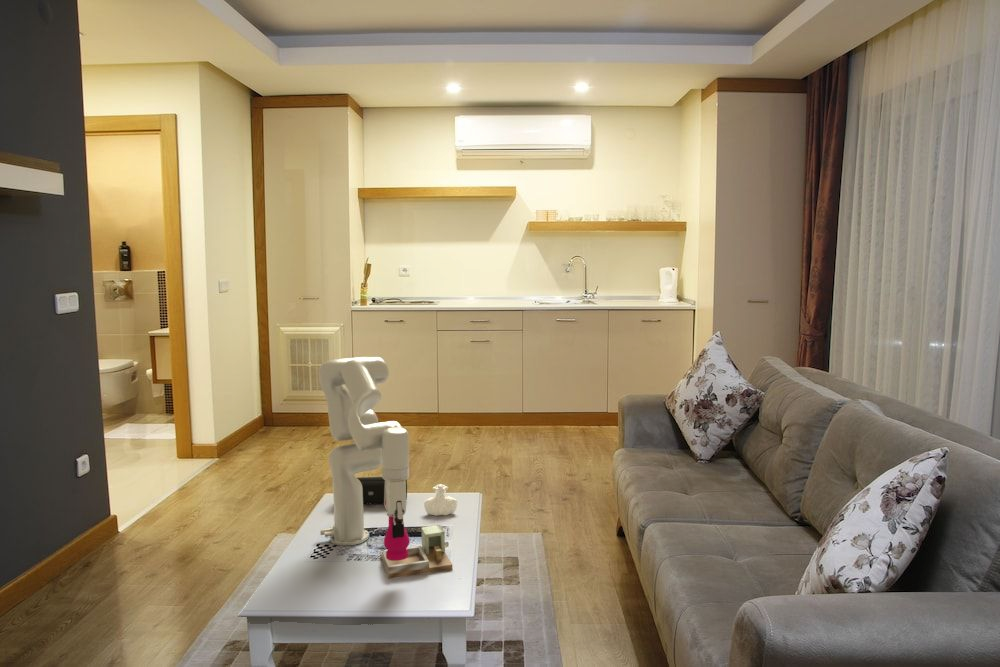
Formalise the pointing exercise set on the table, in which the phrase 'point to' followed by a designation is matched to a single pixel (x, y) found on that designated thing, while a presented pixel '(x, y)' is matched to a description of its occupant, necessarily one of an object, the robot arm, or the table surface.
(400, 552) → the pepper mill
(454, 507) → the bust
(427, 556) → the stand
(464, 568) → the table surface
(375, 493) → the portable speaker
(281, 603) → the table surface
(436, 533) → the block
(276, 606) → the table surface
